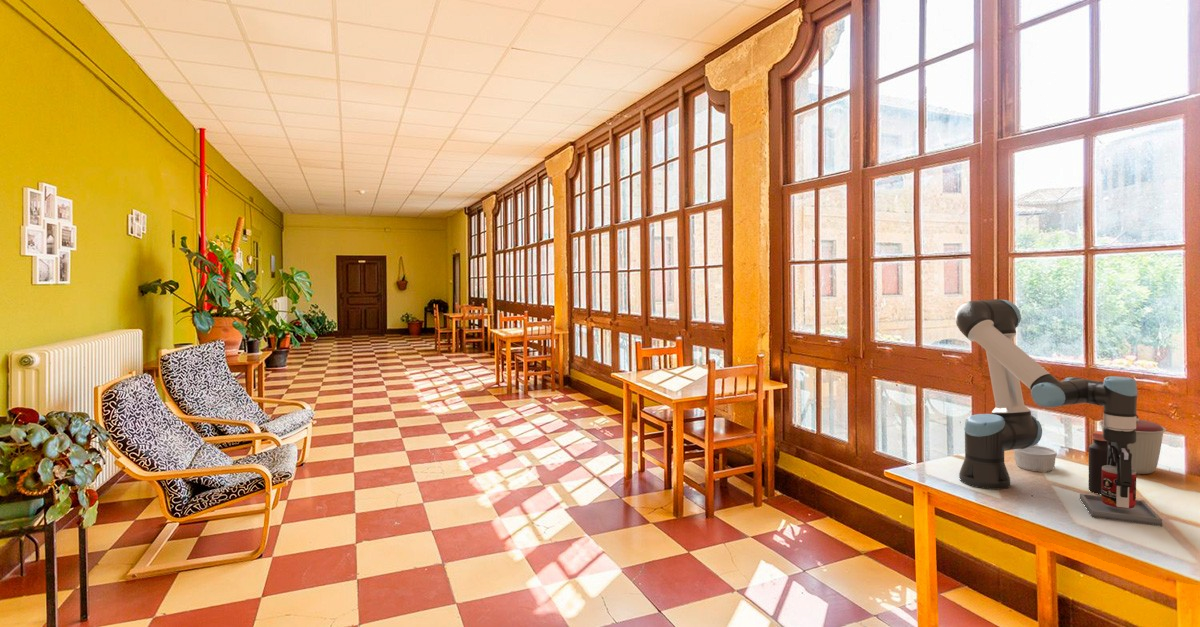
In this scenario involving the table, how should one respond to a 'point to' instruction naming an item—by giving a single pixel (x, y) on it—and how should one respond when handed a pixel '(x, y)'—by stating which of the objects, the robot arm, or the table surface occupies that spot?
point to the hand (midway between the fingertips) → (1118, 501)
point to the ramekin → (1035, 458)
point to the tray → (1120, 511)
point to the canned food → (1115, 487)
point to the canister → (1145, 446)
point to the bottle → (1097, 461)
